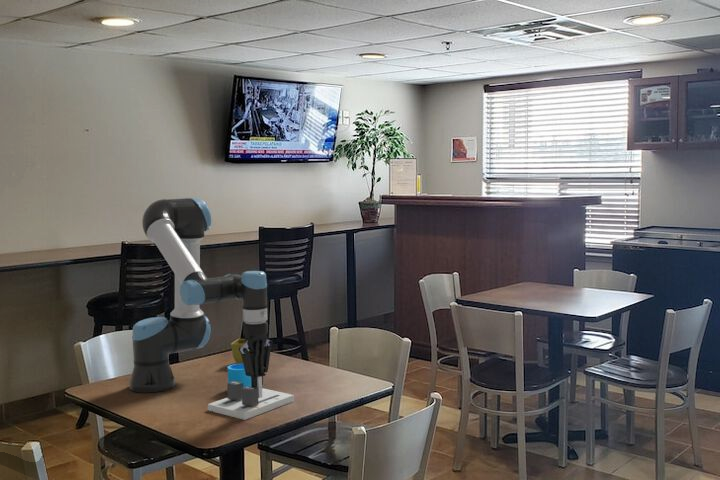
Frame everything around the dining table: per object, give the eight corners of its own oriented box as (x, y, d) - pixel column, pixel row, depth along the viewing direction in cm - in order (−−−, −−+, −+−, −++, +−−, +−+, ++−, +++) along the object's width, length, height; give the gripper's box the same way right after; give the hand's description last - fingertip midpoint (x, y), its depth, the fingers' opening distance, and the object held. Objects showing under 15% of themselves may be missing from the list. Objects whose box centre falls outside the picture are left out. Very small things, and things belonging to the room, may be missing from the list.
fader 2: (242, 404, 228) (241, 388, 227) (249, 401, 230) (248, 385, 230) (251, 406, 225) (250, 390, 225) (258, 404, 228) (257, 387, 227)
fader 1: (227, 398, 234) (227, 382, 233) (234, 396, 236) (234, 380, 236) (236, 400, 231) (236, 384, 231) (243, 398, 234) (243, 382, 233)
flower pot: (231, 366, 282) (230, 343, 282) (238, 361, 291) (238, 338, 290) (253, 367, 281) (252, 344, 280) (260, 361, 290) (259, 338, 289)
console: (208, 410, 230) (207, 403, 230) (258, 393, 248) (258, 386, 247) (244, 419, 220) (244, 412, 220) (294, 401, 238) (294, 394, 238)
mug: (235, 395, 246) (234, 371, 245) (223, 390, 252) (223, 366, 251) (266, 388, 253) (266, 364, 252) (254, 383, 259) (254, 360, 259)
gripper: (249, 326, 221) (251, 404, 223) (278, 319, 231) (280, 393, 233) (231, 324, 225) (233, 400, 227) (261, 317, 236) (263, 389, 238)
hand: (257, 396), depth 230 cm, fingers closed
